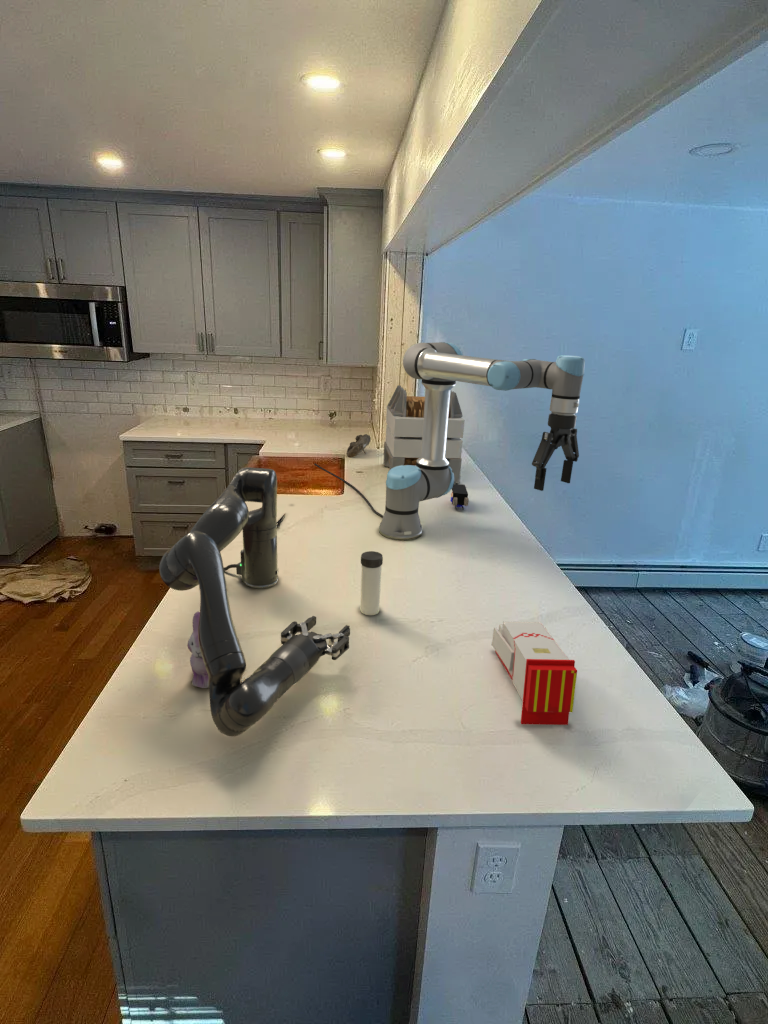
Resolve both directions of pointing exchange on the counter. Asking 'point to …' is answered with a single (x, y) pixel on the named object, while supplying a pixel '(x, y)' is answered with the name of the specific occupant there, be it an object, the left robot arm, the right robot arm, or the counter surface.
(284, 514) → the feather
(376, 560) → the lid
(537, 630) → the toy
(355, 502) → the counter surface
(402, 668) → the counter surface
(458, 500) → the figurine character
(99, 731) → the counter surface
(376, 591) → the jar
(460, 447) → the white wooden crate
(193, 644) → the figurine
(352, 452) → the fossil
